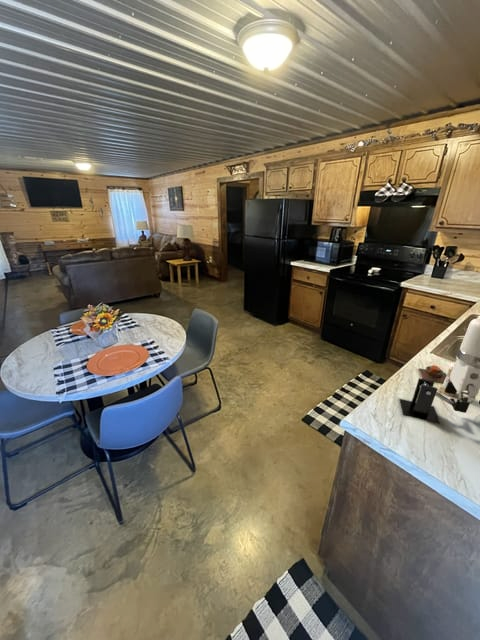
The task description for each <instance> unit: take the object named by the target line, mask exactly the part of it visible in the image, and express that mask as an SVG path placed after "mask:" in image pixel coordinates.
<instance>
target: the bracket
mask: <svg viewBox="0 0 480 640" xmlns="http://www.w3.org/2000/svg"><path fill="white" fill-rule="evenodd" d="M424 382H426V383H427V384H429V385H431V386H432V387H430V386H425V385H421V384H422V383H424ZM434 384H435V382H434V381H430V380H425V379H422V378H418V380H417V383H416V387H415V390H414V393H413V395H412V398H411V400H406V399H402V398H399V404H400V408H401V412H402V415H403V416H406V417H410V418H414V419H418V420H423V421H425V422H430V423H434V424H439V425H441V422H440V419H439V417H438V414H437V411H436V409H435V407H434V405H433V403H434V400H435V398H436V396H435V395H436V392H437V391H438V388H437V387H436V386H435V387H434ZM420 385H421V387H420Z"/></svg>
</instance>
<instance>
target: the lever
mask: <svg viewBox="0 0 480 640" xmlns="http://www.w3.org/2000/svg"><path fill="white" fill-rule="evenodd" d="M421 385H425V386H430V387H432V386H431V385H429V384H427V383H426V382H424V383H422V384H421ZM421 385H420V387H421ZM435 397H437V398H439V399H440V400H442V401H443V402H445V403H447V404H449V405H451V407H452V409H453V408H454V406H455V404H456V400H455V399H454V398H448V397H446V396H444V395H443V394H442V393H440V392H436V395H435Z"/></svg>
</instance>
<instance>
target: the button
mask: <svg viewBox="0 0 480 640" xmlns="http://www.w3.org/2000/svg"><path fill="white" fill-rule="evenodd" d="M430 366H431V368H430V370H431V371H433V372H436V373H439V370H440V369H441V367H439V366H437V365H433V364H432V365H430Z"/></svg>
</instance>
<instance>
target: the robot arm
mask: <svg viewBox="0 0 480 640" xmlns="http://www.w3.org/2000/svg"><path fill="white" fill-rule="evenodd" d="M454 363H455V364H454V366H453V367H452V371H451V374H450V378H449V379H448V383H447V386H446V388H445V392H446V393H450V394H454V396H455V395H457V393H458V398H457V399H456V400H455V402H456V404H455V406H454V408H453V407H452V409H453V411H454V412H460V413H463V414H464V413H465V414H466V413H467V411H468V409H469V408H470V405H471V404H473V403H474V401H475V400H476V397H477V396H478V394H479V392H480V314H479V315H478V317H477V318H473V319H472V320H471V321H470V322H469V324H468V327H467V329H466V332H465V334H464V337H463V339H462V342H461V345H460V346H459V350H458V351H457V355H456V360H455V362H454ZM449 382H450V383H449ZM464 395H465V397H464Z"/></svg>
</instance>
